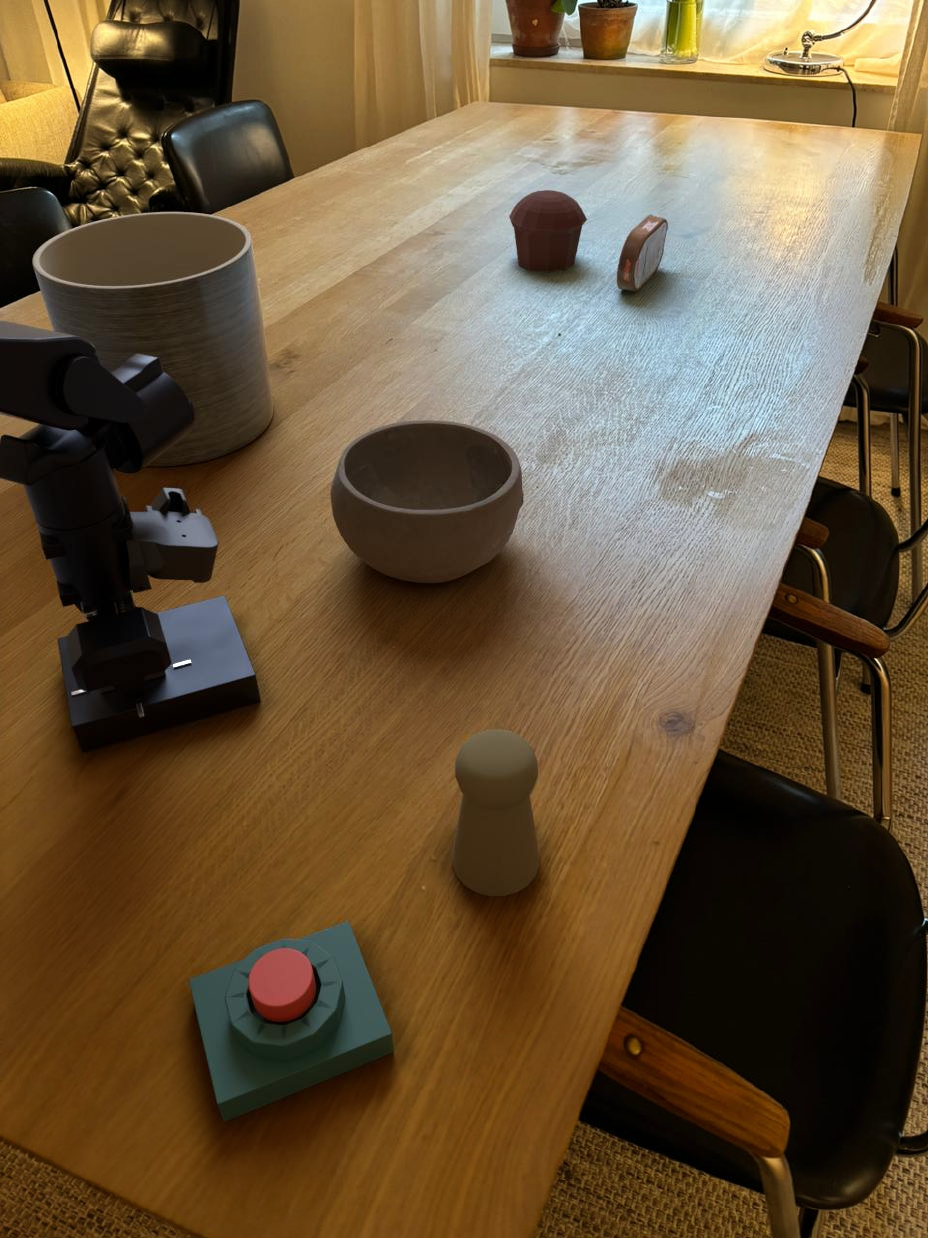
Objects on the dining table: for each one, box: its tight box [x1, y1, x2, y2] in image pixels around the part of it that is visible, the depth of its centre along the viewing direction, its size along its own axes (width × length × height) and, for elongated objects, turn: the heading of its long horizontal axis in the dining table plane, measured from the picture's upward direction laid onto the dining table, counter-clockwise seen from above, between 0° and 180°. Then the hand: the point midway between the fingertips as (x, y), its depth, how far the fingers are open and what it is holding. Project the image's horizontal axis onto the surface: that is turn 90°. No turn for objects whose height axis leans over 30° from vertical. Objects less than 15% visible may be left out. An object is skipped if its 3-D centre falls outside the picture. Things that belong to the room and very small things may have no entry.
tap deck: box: [56, 595, 262, 754], centre depth 80 cm, size 14×12×3 cm
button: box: [248, 948, 316, 1022], centre depth 56 cm, size 4×4×2 cm
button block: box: [188, 920, 395, 1123], centre depth 58 cm, size 10×8×4 cm
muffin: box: [508, 189, 588, 273], centre depth 149 cm, size 12×11×10 cm
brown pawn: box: [451, 728, 541, 897], centre depth 64 cm, size 6×6×11 cm
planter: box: [32, 211, 274, 467], centre depth 109 cm, size 22×22×20 cm
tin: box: [616, 214, 669, 292], centre depth 143 cm, size 15×3×8 cm, turn 153°
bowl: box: [330, 419, 525, 584], centre depth 92 cm, size 17×18×10 cm
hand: (131, 673), depth 78 cm, fingers open, 5 cm apart
